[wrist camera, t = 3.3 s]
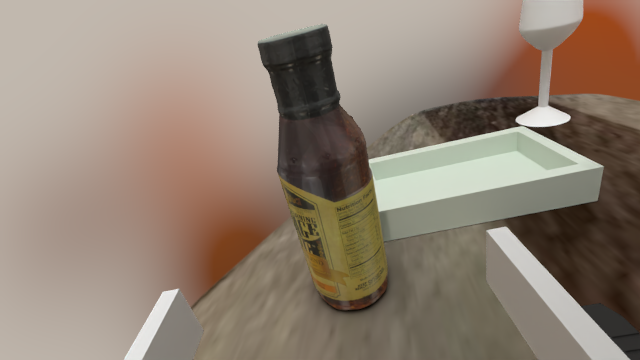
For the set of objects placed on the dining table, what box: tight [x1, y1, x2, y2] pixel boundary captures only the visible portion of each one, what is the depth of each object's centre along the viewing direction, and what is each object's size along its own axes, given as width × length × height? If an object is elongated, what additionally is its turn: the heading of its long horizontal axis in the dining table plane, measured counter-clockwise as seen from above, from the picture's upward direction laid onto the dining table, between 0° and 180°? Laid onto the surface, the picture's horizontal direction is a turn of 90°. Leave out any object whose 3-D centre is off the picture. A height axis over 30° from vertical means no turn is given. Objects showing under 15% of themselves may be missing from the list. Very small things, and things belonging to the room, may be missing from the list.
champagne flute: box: [516, 0, 583, 127], centre depth 41 cm, size 7×7×24 cm
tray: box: [369, 126, 604, 242], centre depth 34 cm, size 20×12×4 cm, turn 91°
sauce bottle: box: [258, 24, 388, 310], centre depth 22 cm, size 7×6×20 cm
